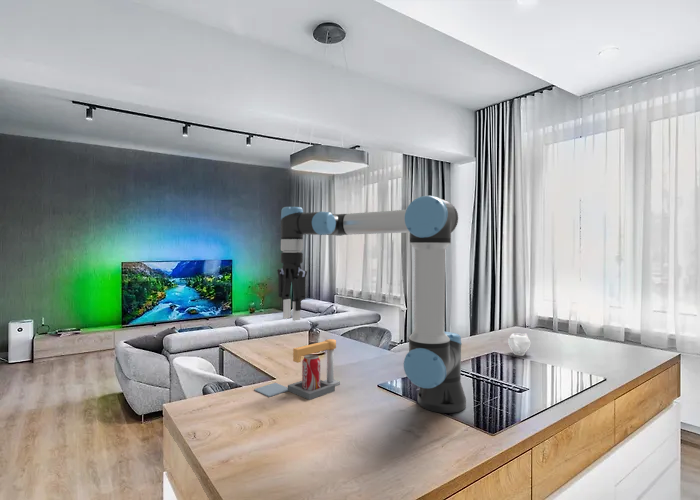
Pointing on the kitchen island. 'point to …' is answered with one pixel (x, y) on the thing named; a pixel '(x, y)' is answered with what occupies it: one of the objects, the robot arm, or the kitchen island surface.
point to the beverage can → (311, 372)
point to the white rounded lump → (519, 343)
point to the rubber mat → (272, 389)
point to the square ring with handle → (325, 385)
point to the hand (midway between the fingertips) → (291, 318)
